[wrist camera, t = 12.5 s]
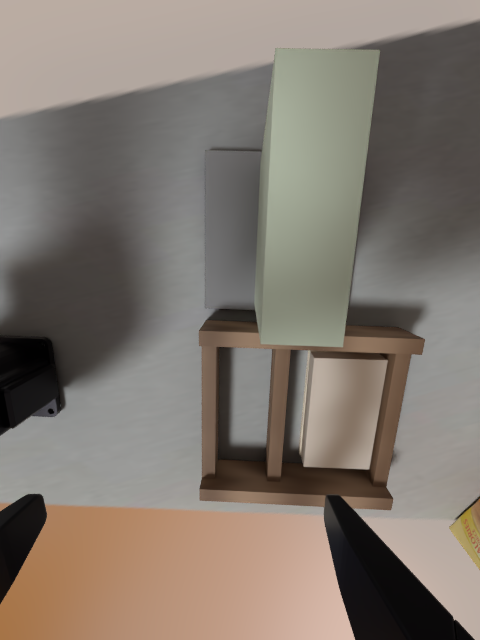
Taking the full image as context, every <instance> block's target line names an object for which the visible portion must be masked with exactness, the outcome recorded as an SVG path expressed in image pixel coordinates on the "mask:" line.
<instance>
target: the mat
mask: <svg viewBox="0 0 480 640" xmlns="http://www.w3.org/2000/svg"><path fill="white" fill-rule="evenodd" d="M261 155H262V152H261V151H219V150H205V308H212V309H240V310H255V305H254V301H255V278H256V255H257V232H258V209H259V186H260V163H261ZM366 161H367V159H366ZM365 169H366V166H365ZM364 177H365V174H364ZM363 184H364V182H363ZM362 192H363V190H362ZM361 200H362V198H361ZM360 208H361V206H360ZM359 216H360V214H359ZM358 224H359V222H358ZM357 232H358V230H357ZM356 240H357V238H356ZM355 248H356V246H355ZM354 256H355V254H354ZM353 264H354V262H353ZM352 272H353V270H352ZM351 280H352V278H351ZM350 288H351V286H350ZM349 296H350V294H349ZM348 304H349V302H348ZM347 312H348V310H347Z"/></svg>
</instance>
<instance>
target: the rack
mask: <svg viewBox="0 0 480 640" xmlns="http://www.w3.org/2000/svg"><path fill="white" fill-rule="evenodd" d="M424 342H425V339H423V338H421V337H419V336H416V335H414V334H412V333H410V332H408V331H405V330H403V329H401V328H399V327H380V326H353V325H346V326H345V334H344V342H343V347H323V346H297V345H270V344H260V337H259V331H258V324H257V322H244V321H217V320H206V321H205V323H204V324H203V326H202V327H201V329H200V330H199V346H202V480H201V485H200V500H201V501H221V502H241V503H260V504H280V505H300V506H319V507H325V497H326V495H327V494H338V495H340V496H341V497H342V498H343V499H344V500H345V501H346V502H347V503H348V504H349V505H350V506H351V508H359V509H378V510H391V508H392V503H393V497H392V496H391V494H390V493H389V491H388V489H387V488H386V486H387V480H388V475H389V470H390V464H391V459H392V454H393V448H394V443H395V438H396V433H397V427H398V422H399V417H400V411H401V406H402V401H403V395H404V390H405V385H406V380H407V374H408V369H409V364H410V358H411V354H418V355H422V352H423V347H424ZM219 347H238V348H264V349H272V364H271V380H270V396H269V412H268V428H267V445H266V461H265V462H262V461H241V460H220V459H218V414H219ZM291 350H315V351H341V352H367V353H380V355H382V356H383V357H384V358H385V359H387V360H388V362H387V368H386V374H385V380H384V386H383V391H382V397H381V403H380V409H379V415H378V421H377V427H376V433H375V438H374V444H373V450H372V456H371V462H370V468H369V469H345V468H321V467H304V466H303V463H283V462H282V454H283V441H284V429H285V416H286V403H287V390H288V378H289V365H290V352H291Z"/></svg>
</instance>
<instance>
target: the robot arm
mask: <svg viewBox="0 0 480 640" xmlns="http://www.w3.org/2000/svg"><path fill="white" fill-rule="evenodd" d="M42 342H43V343H44V345H45V346H43V345H42ZM52 409H53V410H54V411H53V410H52ZM60 411H61V407H60V400H59V393H58V385H57V378H56V371H55V363H54V356H53V349H52V343H51V341H50V340H49V339H48V338H45V337H24V336H0V436H1V435H2V434H3V433H5V432H6V431H8V430H9V429H10V428H15V427H17V426H18V425H19V424H21V423H22V422H24V421H25V420H26V419H28V418H29V417H30V416H42V417H54V416H56V415H57V414H58V413H60ZM46 518H47V512H46V508H45V503H44V499H43V496H42V495H41V494H28V495H25V496H24V497H22V498H20V499H19V500H17V501H16V502H14V503H13V504H11V505H9V506H8V507H6V508H5V509H3V510H2V511H0V604H1V602H2V600H3V599H4V597H5V596H6V594H7V592H8V590H9V589H10V587H11V585H12V584H13V582H14V580H15V578H16V576H17V575H18V573H19V571H20V569H21V567H22V565H23V563H24V561H25V560H26V558H27V556H28V554H29V552H30V550H31V548H32V547H33V545H34V543H35V541H36V539H37V537H38V535H39V533H40V531H41V530H42V528H43V526H44V524H45V521H46ZM324 522H325V527H326V532H327V536H328V541H329V545H330V550H331V554H332V559H333V563H334V567H335V571H336V576H337V580H338V585H339V588H340V592H341V595H342V598H343V602H344V605H345V608H346V612H347V615H348V618H349V621H350V624H351V627H352V631H353V634H354V637H355V640H474V639H473V637H472V636H471V635H470V634H469V633H468V632H467V631H466V630H465V629H464V628H463V627H462V626H461V625H460V623H459V622H458V621H456V620H454V619H453V616H452V615H451V614H450V613H449V612H448V611H447V610H446V609H445V608H444V607H443V605H442V604H441V603H440V602H439V601H438V600H437V599H436V598H435V597H434V596H433V595H432V593H431V592H430V591H429V590H428V589H427V588H426V587H425V586H424V585H423V584H422V583H421V582H420V581H419V580H418V578H417V577H416V576H415V575H414V574H413V573H412V572H411V571H410V570H409V569H408V568H407V567H406V566H405V565H404V564H403V562H402V561H401V560H400V559H399V558H398V557H397V556H396V555H395V554H394V553H393V552H392V551H391V549H390V548H389V547H388V546H387V545H386V544H385V543H384V542H383V541H382V540H381V539H380V538H379V537H378V535H376V533H375V532H374V531H373V530H372V529H371V528H370V527H369V526H368V525H367V524H366V523H365V522H364V520H363V519H362V518H361V517H360V516H359V515H358V514H357V513H356V512H355V511H354V510H353V509H352V508H351V506H350V505H349V504H348V503H347V502H346V501H345V500H344V499H343V498H342V497H341V496H340V495H338V494H327V495H326V497H325V507H324Z"/></svg>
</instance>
